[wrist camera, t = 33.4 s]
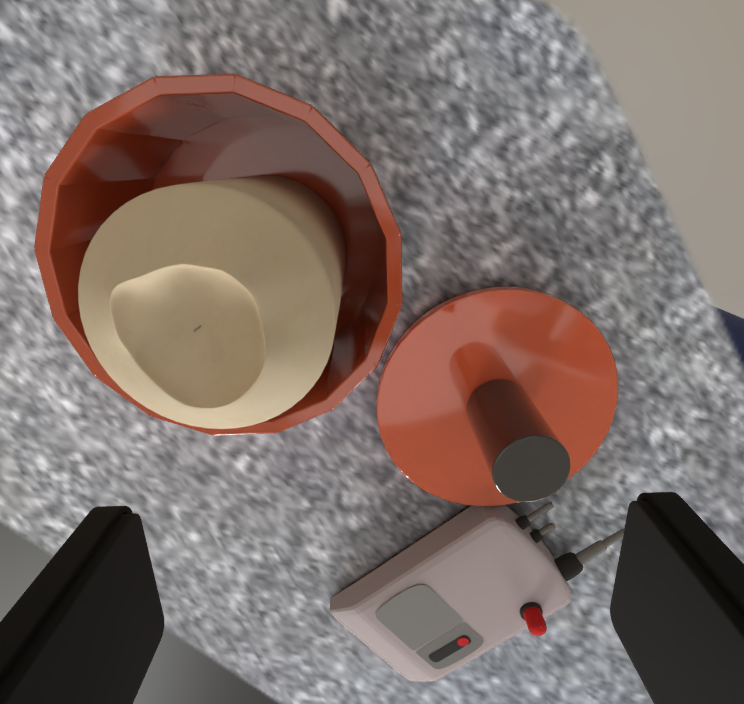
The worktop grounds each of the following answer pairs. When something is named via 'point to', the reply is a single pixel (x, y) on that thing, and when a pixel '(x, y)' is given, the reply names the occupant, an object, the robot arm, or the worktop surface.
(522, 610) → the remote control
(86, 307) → the candle
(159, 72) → the worktop surface
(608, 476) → the worktop surface
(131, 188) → the pot
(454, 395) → the lid
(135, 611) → the robot arm
